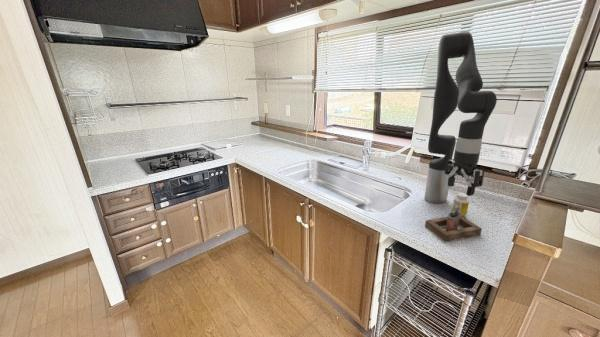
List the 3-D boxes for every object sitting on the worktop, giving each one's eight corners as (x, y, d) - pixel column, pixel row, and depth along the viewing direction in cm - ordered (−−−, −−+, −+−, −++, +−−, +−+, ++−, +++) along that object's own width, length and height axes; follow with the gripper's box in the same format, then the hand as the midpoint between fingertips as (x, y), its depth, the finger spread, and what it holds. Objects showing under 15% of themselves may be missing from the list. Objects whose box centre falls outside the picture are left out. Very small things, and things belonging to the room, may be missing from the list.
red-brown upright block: (451, 236, 95) (456, 213, 92) (442, 232, 97) (446, 210, 94) (459, 228, 100) (464, 206, 96) (450, 225, 102) (454, 203, 99)
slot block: (457, 220, 105) (458, 214, 104) (480, 235, 95) (481, 228, 94) (424, 226, 102) (425, 220, 101) (445, 242, 92) (446, 235, 91)
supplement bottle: (467, 214, 109) (471, 194, 106) (464, 219, 105) (468, 198, 102) (453, 210, 113) (456, 190, 109) (449, 215, 109) (453, 195, 105)
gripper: (443, 146, 93) (437, 184, 98) (476, 156, 80) (467, 200, 85) (459, 143, 94) (453, 182, 100) (495, 153, 81) (485, 197, 87)
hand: (459, 190), depth 92 cm, fingers open, 8 cm apart
